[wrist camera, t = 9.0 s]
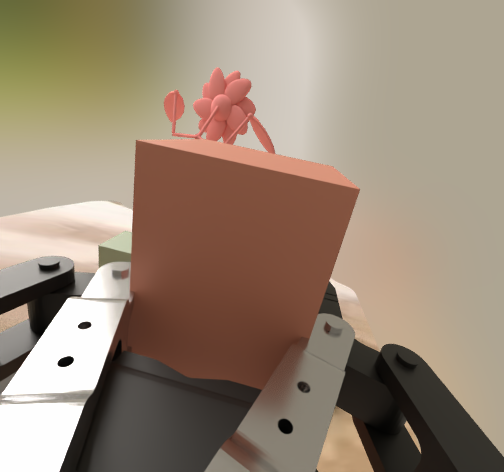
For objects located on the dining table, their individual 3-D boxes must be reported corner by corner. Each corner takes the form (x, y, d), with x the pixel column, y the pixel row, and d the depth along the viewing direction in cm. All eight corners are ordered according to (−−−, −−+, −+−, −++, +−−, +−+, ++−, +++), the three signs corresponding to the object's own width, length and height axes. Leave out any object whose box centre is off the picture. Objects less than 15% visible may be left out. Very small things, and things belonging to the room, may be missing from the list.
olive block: (137, 343, 34) (142, 256, 30) (99, 333, 34) (98, 245, 30) (156, 319, 39) (163, 240, 34) (123, 309, 39) (125, 230, 35)
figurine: (230, 297, 46) (278, 60, 35) (132, 243, 58) (144, 51, 46) (273, 271, 59) (319, 90, 47) (186, 230, 71) (205, 77, 59)
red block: (250, 512, 10) (360, 189, 6) (121, 471, 10) (135, 140, 6) (265, 394, 15) (332, 166, 10) (176, 368, 15) (205, 139, 11)
